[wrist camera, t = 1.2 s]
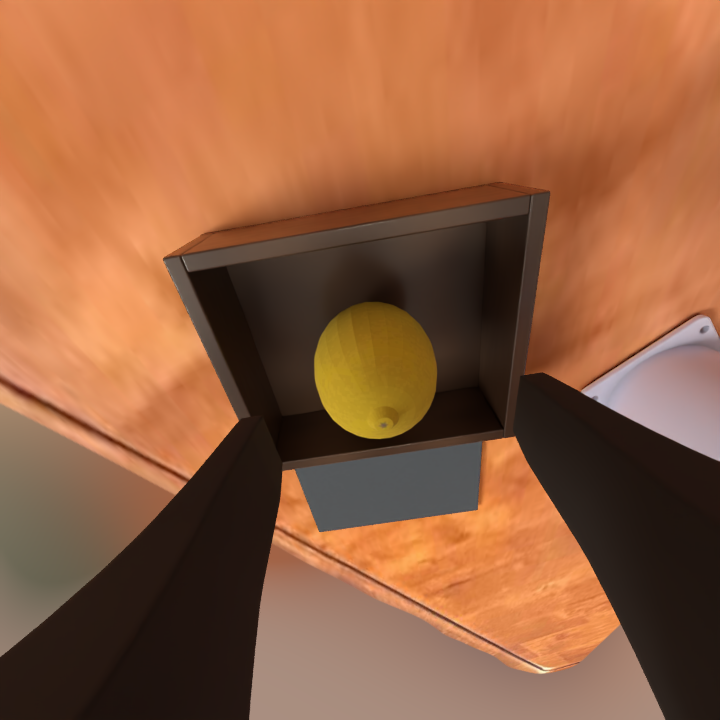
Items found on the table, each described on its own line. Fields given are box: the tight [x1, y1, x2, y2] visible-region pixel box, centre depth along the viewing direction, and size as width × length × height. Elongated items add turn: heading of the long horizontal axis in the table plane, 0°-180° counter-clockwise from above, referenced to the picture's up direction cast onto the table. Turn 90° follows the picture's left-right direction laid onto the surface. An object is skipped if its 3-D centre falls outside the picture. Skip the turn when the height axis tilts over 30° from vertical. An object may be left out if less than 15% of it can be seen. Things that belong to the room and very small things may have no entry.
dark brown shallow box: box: [163, 182, 550, 471], centre depth 17 cm, size 14×12×4 cm
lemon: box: [314, 302, 437, 439], centre depth 15 cm, size 6×6×8 cm
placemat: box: [295, 441, 482, 532], centre depth 26 cm, size 14×12×1 cm
